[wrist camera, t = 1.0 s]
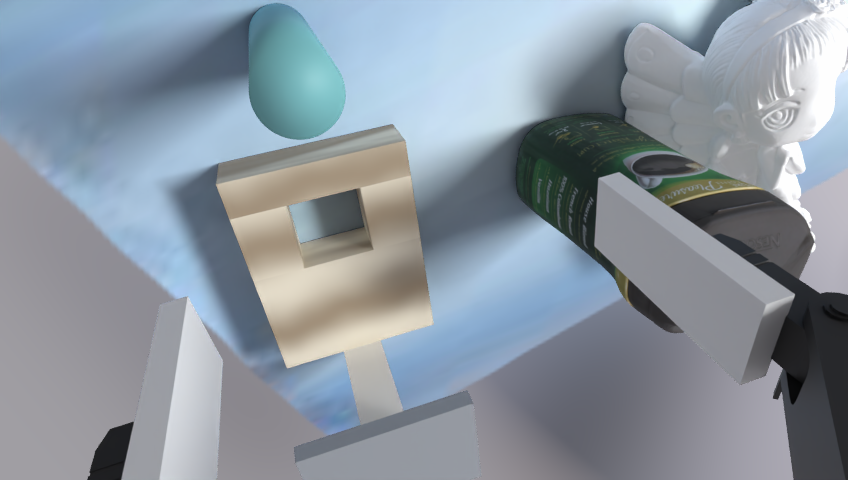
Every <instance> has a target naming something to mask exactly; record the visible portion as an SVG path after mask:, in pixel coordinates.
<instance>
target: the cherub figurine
mask: <svg viewBox="0 0 848 480" xmlns="http://www.w3.org/2000/svg"><path fill="white" fill-rule="evenodd" d="M624 60H625V63H626V66H627V69H628V71H627V73H626V75H625V77H624V79H623V82H622V85H621V98H622V102H623V104H624V105H625V106H626V108H627V110H626V114H625V122H627V123H629V124H631V125H632V126H634V127H636V128H637V129H639V130H641V131H642V132H644V133H646V134H647V135H649V136H651V137H652V138H654V139H656V140H657V141H659V142H661V143H663V144H665V145H666V146H668V147H670V148H672V149H674V150H675V151H677V152H679V153H681V154H683V155H684V156H686V157H688V158H690V159H692V160H694V161H695V162H697V163H699V164H701V165H703V166H705V167H707V168H709V169H711V170H714V171H716V172H718V173H721V174H723V175H726V176H729V177H731V178H734V179H737V180H740V181H743V182H746V183H749V184H752V185H754V186H757V187H760V188H762V189H764V190H766V191H768V192H770V193H771V194H773V195H774V196H776V197H778V198H779V199H781V200H782V201H784V202H785V203H787V204H788V205H790V206H791V207H793V208H794V209H796V210H797V211H798V212H799V213H800V214H801V215H802V216H803V217H804V218H805V220H806V221H807V223H808V226H809V228H810V227H811V225H810V224H809V222H810V221H811V220H812V219H811V217H810V214H809V212H807V211H806V210H805V209H804V208H801V207H800V202H799V201H798V200H797V199H798V198H799V197H800V195H801V189H800V186H799V184H798V180H797V177H796V176H795V175H797V174H801V173H803V172H804V171H805V164H804V160H803V156H802V152H801V149H800V147H799V144H798V142H801V141H805V140H808V139H810V138H812V137H813V136H814V135H815V134H816V133H817V132H818V131H819V130H820V129H821V128H822V127H823V126H824V125H825V124H826V123H827V122H828V120H829V119H830V117H831V115H832V113H833V110H834V104H835V83H836V78H837V77H838V75H839V73H842V72H844V71H846V70H847V69H848V5H847V4H846V2H845V1H844V0H752V4H751V5H749V6H746V7H744V8H742V9H740V10H738V11H736V12H735V13H733V14H732V15H731V16H730V17H728V18H727V19H726V20H725V21H724V22H723V23H722V24H721V26H720V27H719V28H718V30H717V31H716V33H715V35H714V37H713V39H712V42H711V44H710V46H709V48H708V50H707V52H706V55H705V57H704V56H703V55H701V54H700V53H699V52H697V51H693V50H692V49H690V48H689V47H687V46H685V45H684V44H683V43H681V42H680V41H678V40H676V39H675V38H673V37H672V36H670V35H669V34H667V33H665V32H664V31H662V30H661V29H659V28H658V27H656V26H654V25H652V24H649V23H640V24H638V25H637V26H636V27H635V28H634V29H633V31H632V32H631V33H630V35H629V37H628V39H627V42H626V45H625V50H624ZM811 234H812V236H813V238H814V240H815V235H814V234H813V233H812V232H811ZM814 250H815V243H814V245H813V247H812V250H811V253H812V252H813V251H814Z"/></svg>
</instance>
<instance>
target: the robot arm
mask: <svg viewBox="0 0 848 480" xmlns="http://www.w3.org/2000/svg"><path fill="white" fill-rule="evenodd" d="M594 246H595V247H596V248H597V249H598V250H599V251H600V252H601V253H602V254H603V255H604V256H605V257H606V258H607V259H608V260H610V261H611V262H612V263H613V264H614V265H615V266H616V267H617V268H618V269H619V270H620V271H621V272H622V273H623V274H624V275H625V276H626V277H627V278H628V279H629V280H630V281H631V282H632V283H634V284H635V285H636V286H637V287H638V288H639V289H640V290H641V291H642V292H643V293H644V294H645V295H646V296H647V297H648V298H649V299H650V300H651V301H652V302H653V303H654V304H655V305H656V306H658V307H659V308H660V309H661V310H662V311H663V312H664V313H665V314H666V315H667V316H668V317H669V318H670V319H671V320H672V321H673V322H674V323H675V324H676V325H677V326H678V327H679V328H680V329H682V330H683V331H684V332H685V333H686V334H687V335H688V336H689V337H690V338H691V339H692V340H693V341H694V342H695V343H696V344H698V346H699V347H700V348H701V349H702V350H704V351H705V352H706V353H707V354H708V355H709V356H710V357H711V358H712V359H713V360H714V361H715V362H716V363H717V364H718V365H719V366H720V367H721V368H722V369H723V370H724V371H725V372H726V373H728V374H729V375H730V376H731V377H732V378H733V379H734V380H735V381H736V382H737V383H738V384H739V385H742V384H745V383H747V382H750V381H753V380H756V379H758V378H761V377H763V376H765V375H766V373H767V370H768V368H769V365H770V362H771V360H772V359H773V360H774V361H775V362H776V363H777V364H778V365H780V366H781V367H782V368H783V370H782V373H781V375H780V378H779V380H778V383H777V386H776V388H775V391H774V395H773V399H778V398H779V396H780V393H781V392H782V394H783V401H784V410H785V418H786V425H787V433H788V440H789V448H790V456H791V463H792V470H793V478H794V480H848V295H845V294H841V293H829V292H826V293H821V294H820V293H818V292H817V291H815V290H814V289H812V288H811V287H809V286H808V285H806V284H805V283H803V282H802V281H800V280H799V279H797V278H796V277H794V276H793V275H791V274H790V273H788V272H787V271H785V270H784V269H782V268H781V267H779V266H778V265H776V264H775V263H773V262H769V259H767V258H766V257H764V256H763V255H761V254H760V253H758V254H757V253H756V251H755V250H754V249H752V248H751V247H749V246H748V245H746V244H745V243H743V242H742V241H740V240H737V239H734V238H732V237H729V236H726V235H723V234H721V233H719V234H716V235H713V236H710V235H709V234H708V233H706V232H705V231H703V230H702V229H700V228H699V227H697V226H696V225H695V224H693V223H692V222H690V221H689V220H687V219H686V218H685V217H683V216H682V215H680V214H679V213H677V212H676V211H674V210H673V209H672V208H670V207H669V206H667V205H666V204H664V203H663V202H662V201H660V200H659V199H657V198H656V197H654V196H653V195H651V194H650V193H649V192H647V191H646V190H644V189H643V188H641V187H640V186H639V185H637V184H636V183H634V182H633V181H631V180H630V179H628V178H627V177H626V176H624V175H623V174H621V173H620V172H618V173H614V174H611V175H607V176H604V177H600V178H598V192H597V209H596V227H595V244H594ZM222 373H223V360H222V358H221V357H220V354H219V353H218V351H217V349H216V347H215V345H214V344H213V342H212V340H211V338H210V336H209V334H208V333H207V331H206V329H205V327H204V325H203V323H202V322H201V320H200V318H199V316H198V314H197V312H196V311H195V309H194V307H193V305H192V303H191V301H190V300H189V298H188V296H187V297H183V298H180V299H176V300H173V301H169V302H166V303H163V304H160V307H159V312H158V316H157V321H156V325H155V330H154V334H153V339H152V343H151V348H150V352H149V357H148V362H147V366H146V371H145V375H144V379H143V384H142V388H141V393H140V398H139V402H138V407H137V411H136V416H135V420H134V422H131V423H128V424H125V425H122V426H119V427H115V428H112V429H110V430H109V431H108V433H107V435H106V436H105V438H104V439H103V441H102V442H101V443H100V445H99V446H98V448H97V449H96V451H95V455H94V459H93V462H92V465H91V469H90V476H89V477H88V479H87V480H217V468H218V448H219V430H220V411H221V392H222Z"/></svg>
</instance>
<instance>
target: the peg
mask: <svg viewBox="0 0 848 480" xmlns="http://www.w3.org/2000/svg"><path fill="white" fill-rule="evenodd" d="M249 97H250V102H251V105H252V108H253V110H254V112H255V114H256V116H257V117H258V119H259V120H260V121H261V122H262V123H263V124H264V125H265V126H266V127H267V128H268V129H269V130H271V131H272V132H274V133H276V134H278V135H280V136H282V137H285V138H290V139H297V140H301V139H310V138H313V137H316V136H319V135H321V134H323V133H324V132H326V131H327V130H329V129H330V128H331V127H332V126H333V125H334V124H335V123H336V121H337V120H338V119H339V117H340V115H341V113H342V110H343V108H344V104H345V85H344V81H343V78H342V76H341V73H340V71H339V70H338V68H337V66H336V65H335V64H334V62H333V61H332V59H331V58H330V56H329V55H328V53H327V52H326V50H325V49H324V47H323V46H322V44H321V43H320V41H319V40H318V39H317V37H316V36H315V34H314V33H313V31H312V30H311V28H310V27H309V25H308V24H307V22H306V21H305V19H304V18H303V17H302V15H301V14H300V13H299V12H298V11H296V10H295V9H293V8H292V7H290V6H288V5H284V4H278V3H274V4H269V5H266V6H263V7H262V8H260V9H259V10H258V11H257V12H256V13H255V14H254V16H253V17H252V19H251V21H250V25H249Z"/></svg>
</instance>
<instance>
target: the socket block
mask: <svg viewBox="0 0 848 480" xmlns="http://www.w3.org/2000/svg"><path fill="white" fill-rule="evenodd" d="M216 186H217V189H218V191H219V194H220V196H221V199H222V202H223V204H224V207H225V209H226V212H227V215H228V217H229V220H230V222H231V225H232V227H233V230H234V233H235V235H236V238H237V240H238V243H239V245H240V248H241V251H242V253H243V256H244V258H245V261H246V264H247V266H248V269H249V271H250V274H251V276H252V279H253V282H254V284H255V287H256V289H257V292H258V295H259V297H260V300H261V302H262V305H263V307H264V310H265V313H266V315H267V318H268V320H269V323H270V326H271V328H272V331H273V333H274V336H275V338H276V341H277V344H278V346H279V349H280V351H281V354H282V356H283V359H284V362H285V364H286V367H287V368H290V367H294V366H297V365H300V364H304V363H307V362H310V361H314V360H317V359H320V358H324V357H327V356H330V355H333V354H337V353H340V352H343V351H347V350H350V349H353V348H357V347H360V346H363V345H367V344H370V343H373V342H377V341H380V340H383V339H387V338H390V337H393V336H397V335H400V334H403V333H407V332H410V331H413V330H417V329H420V328H423V327H427V326H430V325H433V324H434V323H433V317H432V310H431V304H430V297H429V291H428V284H427V278H426V271H425V265H424V258H423V252H422V246H421V239H420V233H419V226H418V220H417V213H416V207H415V200H414V194H413V187H412V181H411V174H410V168H409V161H408V155H407V148H406V142H405V140H404V138H403V137H402V136H401V134H400V133H399V132H398V130H397V129H396V128H395V127H394V125H393V124H392V125H387V126H383V127H378V128H374V129H369V130H365V131H361V132H356V133H352V134H347V135H343V136H338V137H334V138H329V139H325V140H321V141H316V142H312V143H307V144H303V145H298V146H294V147H289V148H285V149H281V150H276V151H272V152H267V153H263V154H258V155H254V156H249V157H245V158H240V159H236V160H232V161H227V162H223V163H219V165H218V172H217V180H216ZM353 189H356V191H357V196H358V200H359V205H360V209H361V214H362V218H363V223H364V227H362V228H358V229H355V230H351V231H347V232H343V233H339V234H335V235H331V236H328V237H324V238H320V239H316V240H312V241H308V242H304V243H301V244H300V242H299V238H298V235H297V232H296V229H295V225H294V222H293V219H292V216H291V212H290V209H289V206H288V205H292V204H296V203H300V202H304V201H308V200H312V199H317V198H321V197H325V196H329V195H333V194H337V193H341V192H345V191H349V190H353Z"/></svg>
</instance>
